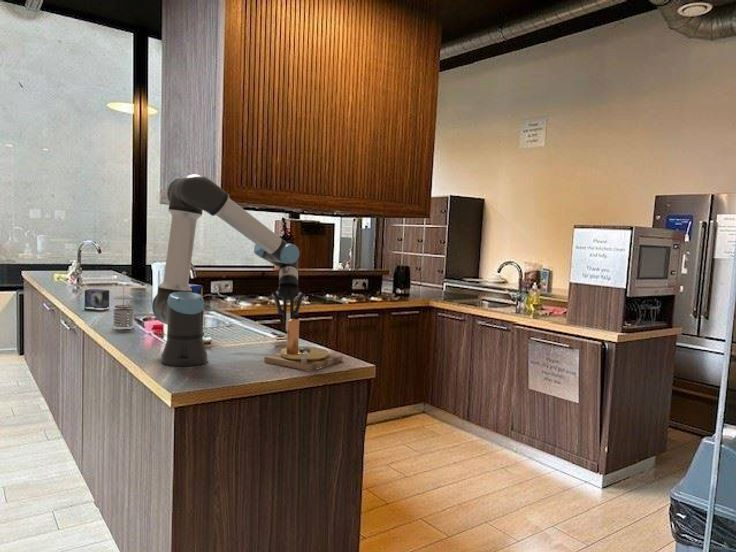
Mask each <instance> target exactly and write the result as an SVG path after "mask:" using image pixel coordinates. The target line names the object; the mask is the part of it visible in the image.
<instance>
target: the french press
mask: <svg viewBox="0 0 736 552" xmlns="http://www.w3.org/2000/svg"><path fill="white" fill-rule="evenodd" d="M121 275H123V276H125V275H127V272H126V271H122V272H121ZM122 292H123V293H119V294H116V295H114V296H113V299H114V300H122V302H123V303H122V304H120V305H119V304H117V305H114V308H116V309H113V326H116V327H128V326H127V324H128V325H129V327H130V326H134V325H133V321H134V320H133V319H134V317H133V316H134V313H135V308H134V304H133V302H132V301H129V302H128V301H126V303H125V302H124V301H125V300H133V299H134V296H133V295H131V294H128V293H125V285H123V291H122ZM120 324H121V325H120ZM113 326H112V327H113Z"/></svg>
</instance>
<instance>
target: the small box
mask: <svg viewBox="0 0 736 552" xmlns="http://www.w3.org/2000/svg"><path fill="white" fill-rule="evenodd" d="M85 307H94V308H107V307H109V308H110V290H109V289H99V288H90V289H85V290H84V308H85Z"/></svg>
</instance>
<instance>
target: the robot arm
mask: <svg viewBox="0 0 736 552" xmlns="http://www.w3.org/2000/svg"><path fill="white" fill-rule="evenodd" d="M166 196H167V200H168V201H169V203H168V212H169V213H170V215H171V222H170V230H169V231H170V232H169V239H168V244H167V251H166V252H167V253H166V260H165V267H164V273H163V281H162V282H161V283H160V284H159V285H158V286H157V292H156V293H157V294H156V295H155V296H154V298H153V299H152V302H151V310H152V311H151V312H152V313H153V315H154V318H156V319H157V320H158V321H159V322H161V323H162V324H164V325H166V326H167V331H166V333H167V335H166V342H165V345H164V347H163V351H162V353H161V357H160V358H161V359H160V363H162V364H163V365H167V366H173V367H192V366H193V367H194V366H198V365H200V366H201V365H202V364H205V363H207V362H208V352H207V350H206V345H205V342H204V313H205V312H204V311H205V310H204V309H205V303H204V302H205V299H204V298H203V295H202V296H201V295H199V294H197V293H192V289H191V288H190V287H189V285H188V284H189V282H190V274H191V267H192V258H193V251H194V245H195V244H194V243H195V236H196V230H197V223H198V222H197V220H198V219H200V218H201V217H202V216H203V211H204V212H206V213H207V214H209V215H210V216H212V217H214V216H217V217H218V218H219V219H220V220H222V221H223V222H225V223H226V224H228V225H229V226H230V227H232V228H233V229H234V230H236V231H237V232H239V233H240V234H241V235H243V236H244V237H246V238H247V239H248V240H250V241H251V242H252V243H254V244H255V245H254V248H253V253H254V255H257V256H258V257H259V258H261V259H263V260H265V261H266V262H268V263H270V264H272V265H274V266H276V267H278V269H279V270H278V271H279V272H278V273H279V275H278V289H277V290H276V291H275V290H274V291H272V292H271V297H272V298H273V301H274V302H275V305H276V309H277V314H278V315H282V322H283V323H285V331H286V332H287V329H288V319H294V316H298V315H299V312H300V308H301V305H302V301H303V300H304V299H305V298H306V297H305V295H306V293H305V292H301V291H300V289H299V257H300V250H299V248H298V246H297V245H295V244H293V243H291V242H290V243H289V242H287V241H286V240H284V238H281V237H280V236H279V235H278V234H277V233H275V232H273V230H272V229H270V228H269V227H267V226H266V225H265V224H264V223H262V222H261V221H259V219H257V218H256V217H254V216H253V215H252V214H250V213H249V212H248V211H247V210H245V209H244V208H243V207H241V206H240V205H239V204H238V203H236V202H235V201H234V200H232V199H231V198H230V195H229V193H228V192H226V191H225V190H224V189H223V188H222V187H220V186H219V185H217V183H215V182H213V180H211V179H210V178H208V177H206V176H204V175H201V174H189V175H180V176H177V177H176V178H174V179H173V180H171V182H169V184H168V186H167V189H166ZM279 297H281V299H282V301H283V302H282V305H283V306H281V302H280V298H279ZM297 297H298V299H297V303H296V305H295V306H294V301H295V299H296V298H297ZM287 300H289V312H287V309H288V308H287V307H288V306H287V305H288V304H287V303H288V301H287ZM294 307H295V309H294Z"/></svg>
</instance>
